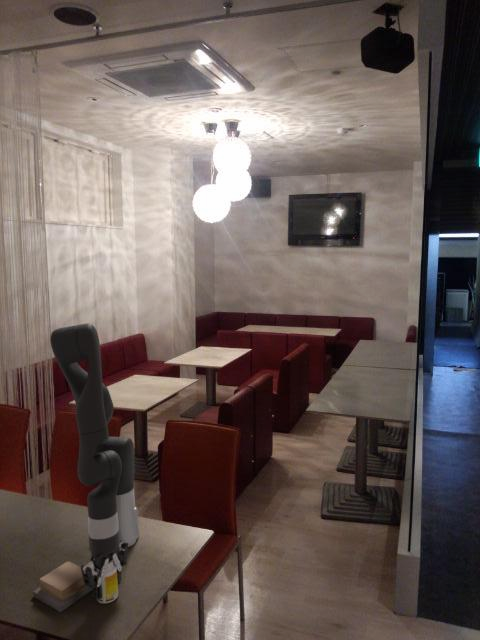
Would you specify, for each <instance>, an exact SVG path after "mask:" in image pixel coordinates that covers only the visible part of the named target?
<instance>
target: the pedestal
mask: <svg viewBox="0 0 480 640" xmlns="http://www.w3.org/2000/svg"><path fill="white" fill-rule="evenodd" d="M91 591H93V589H92V588H90V587H88V586H86V585H85V583H84V579H83V575H82V571H81V566H80V565H77V564H75V563H73V562H71V561H69V560H68V561H65V562H64V563H63V564H61V565H59V566H58V567H57V568H56V567H55V569H52V570H51V571H50V572H48V573H47V574H45V575H44V576H42V577H40V578H39V587H38V588H36V589H35V590H33V591H32V594H33V595H32V596H33V598H35V599H37V600H39V601H40V602H42V603H44V604H45V605H47V606H49V607H50V608H52V609H55V610H56V611H58V612H59V613H62V612H63V611H65V610H66V609H68V608H69V607H70V606H71V605H73V604H75V603H76V602H77V601H78V600H80V599H82V598H83V597H85V596H86V595H87V594H88V593H90V592H91Z"/></svg>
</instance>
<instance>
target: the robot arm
mask: <svg viewBox="0 0 480 640" xmlns="http://www.w3.org/2000/svg"><path fill="white" fill-rule="evenodd" d="M49 339H50V345H51V346H50V347H51V350H52V353H53V355H54V358H55V360H56V362H57V364H58V366H59V368H60V370H61V372H62V374H63V376H64V377H65V379H66V382H67V383H68V386H69V389H70V391H71V395H72V396H73V399H74V403H75V405H76V410H75V421H76V425H77V432H78V436H79V437H78V438H79V446H78V447H79V449H78V460H77V470H76V471H77V477H78V479H79V481H80V483H81V484H82V485H84V486H86V487H93V486H96V485H98V484H99V485H98V486H96V487H95V488H94V489H92V490H91V491H90V492H88V494H87V498H86V499H87V500H86V501H87V502H86V503H87V515H88V516H87V517H88V518H87V530H88V531H87V532H88V547H89V552H90V555H91V556H90V559H89V562H88V563H87V564H82V565H81V566H80V567H81V571H82V575H83V579H84V583H85V585H86V586H88V587H90V588H92V589H93V590H92V596H93V597H94V598H95V599H96V600H97V599H101V598H102V585H101V581H102V577H104V575H105V571H106V566H107V565H108V563H109V562H110V561H112V560H113V564H114V565H115V566H116V567H117V579H118V586H119V585H120V584H121V581H122V569H123V566H126V565H127V563H128V553H129V552H128V551H129V548H130V547H132V546H134V544H135V543H136V542H137V539H138V538H139V537H140V533H139V532H140V531H139V511H138V509H139V508H137V507H136V502H135V500H136V499H135V484H134V482H135V481H134V480H135V447H134V442H133V439H132V438H130V437H128V436H127V437H125V436H110V435H109V428H108V425H109V422H110V421H111V419H112V417H113V414H114V409H115V408H114V402H113V399H112V396H111V394H110V391H109V389H108V387H107V386H106V385H105V384H104V383H103V370H102V369H103V367H102V355H101V354H102V353H101V343H100V338H99V334H98V331H97V329H96V327H95V326H94V325H93V324H92V323H90V322H89V323H87V322H86V323H82V324H76V325H70V326H64V327H60V328H56V329H54V330H53V331H52V332H51V334H50V338H49ZM85 361H87V366H88V370H87V371H86V370H84V368H82V366H80V364H79V363H80V362H85ZM97 569H99V570H101V571H98V570H97ZM96 576H97V577H98V578H97V580H96Z"/></svg>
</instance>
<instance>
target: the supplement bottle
mask: <svg viewBox="0 0 480 640" xmlns="http://www.w3.org/2000/svg"><path fill="white" fill-rule="evenodd" d="M97 570H98V571H101V570H99V569H97ZM97 578H98V577H97V576H96V580H97ZM101 585H102V598H101V599H97V598H96V601H97V602H99V603H100V604H109V603H112V602H114V601H115V600H116V599H117V598H118V596H119V585H118V579H117V567H116V566H115V565H114V564H113V560H112V561H110V562H109V563H108V565H107V566H106V571H105V575H104V577H102V581H101Z"/></svg>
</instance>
